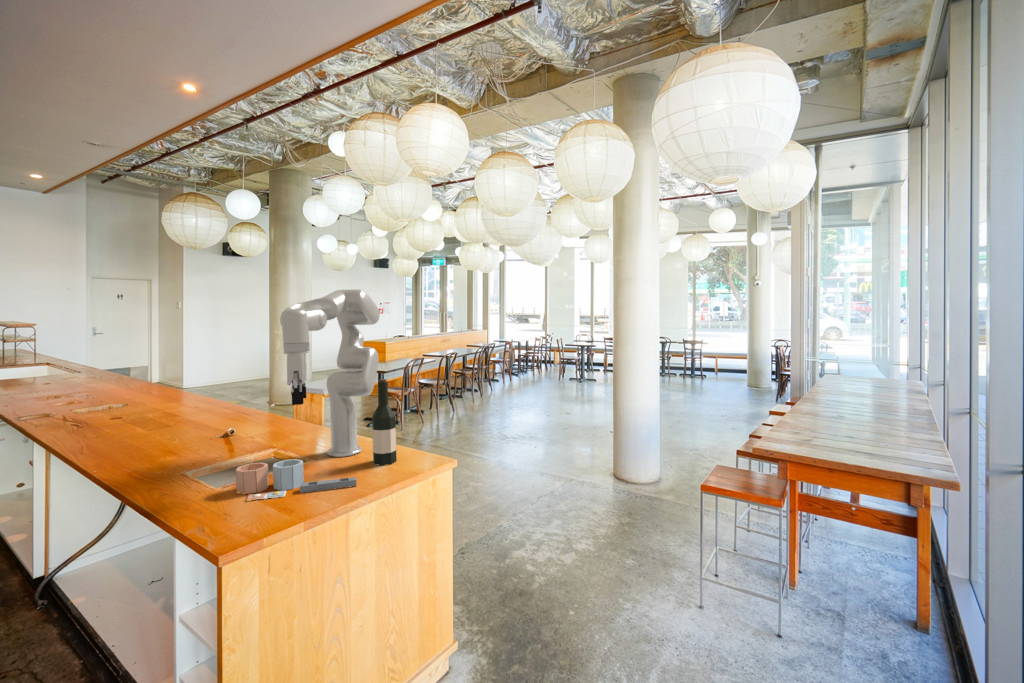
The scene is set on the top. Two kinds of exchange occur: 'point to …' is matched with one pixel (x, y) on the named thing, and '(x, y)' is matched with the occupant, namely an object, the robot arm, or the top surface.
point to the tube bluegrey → (288, 474)
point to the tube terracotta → (252, 478)
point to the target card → (267, 495)
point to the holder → (327, 484)
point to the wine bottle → (383, 428)
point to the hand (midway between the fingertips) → (299, 401)
